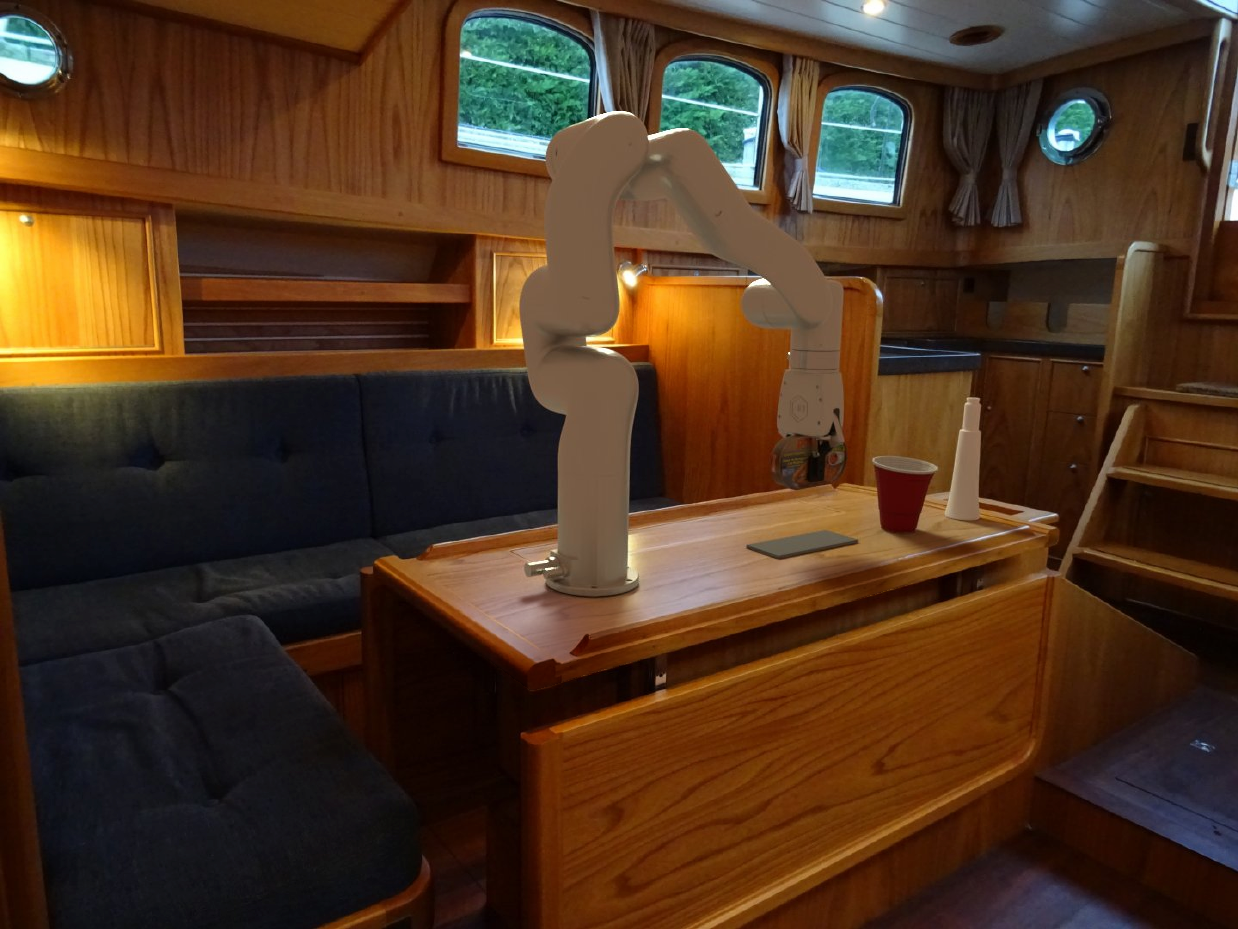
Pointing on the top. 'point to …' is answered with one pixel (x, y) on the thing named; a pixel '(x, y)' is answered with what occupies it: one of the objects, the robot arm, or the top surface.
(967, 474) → the cosmetic bottle
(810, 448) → the tin
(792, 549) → the mat
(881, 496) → the plastic cup
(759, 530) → the top surface
